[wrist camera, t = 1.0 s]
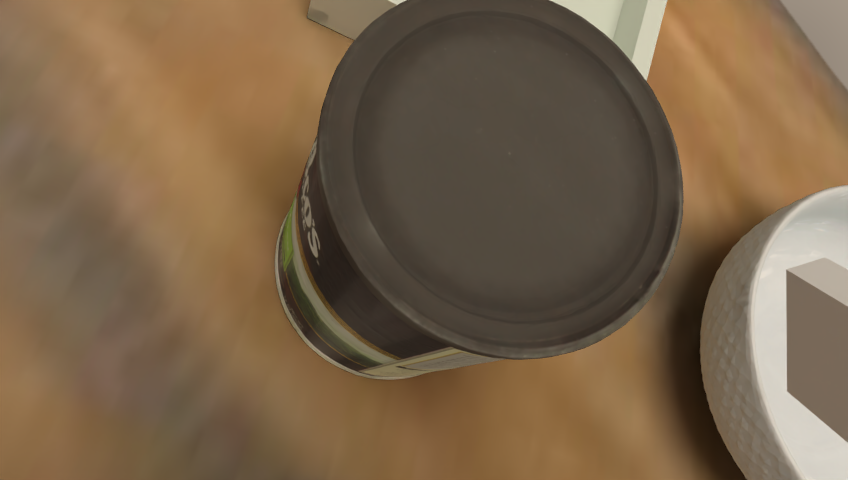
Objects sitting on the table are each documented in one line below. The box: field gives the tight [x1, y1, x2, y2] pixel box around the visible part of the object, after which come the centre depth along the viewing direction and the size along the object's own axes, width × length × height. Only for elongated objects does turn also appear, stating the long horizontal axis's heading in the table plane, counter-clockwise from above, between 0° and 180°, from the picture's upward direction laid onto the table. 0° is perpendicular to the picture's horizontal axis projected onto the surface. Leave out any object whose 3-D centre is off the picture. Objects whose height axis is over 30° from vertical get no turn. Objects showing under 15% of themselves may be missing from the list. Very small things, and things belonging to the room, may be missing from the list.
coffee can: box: [275, 0, 683, 380], centre depth 24 cm, size 10×10×14 cm
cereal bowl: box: [700, 185, 848, 480], centre depth 32 cm, size 17×17×7 cm
